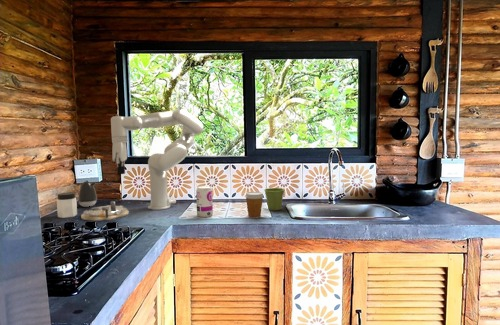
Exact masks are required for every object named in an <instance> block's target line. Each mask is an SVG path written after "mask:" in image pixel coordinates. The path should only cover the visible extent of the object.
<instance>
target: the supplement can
mask: <svg viewBox="0 0 500 325" xmlns="http://www.w3.org/2000/svg"><path fill="white" fill-rule="evenodd" d="M195 191H196V197H195V198H196V199H195V200H196V215H197V216H198V217H200V218H209V217H212V215H213V211H214V210H213V207H214V206H213V189H212V186H210V185H209V186H208V185H202V186H197V187H196V190H195Z"/></svg>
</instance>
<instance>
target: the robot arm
mask: <svg viewBox="0 0 500 325" xmlns="http://www.w3.org/2000/svg"><path fill="white" fill-rule="evenodd" d="M177 125H182V127H181V128H182V130H181V135H180V137H178V138H177V139H176V140H174V141H172V142H171V143H170V144H168V145H167V146H166V147H164V152H163V153H153V154H152V155H151V156H150V157H149V158H148V160H147V164H148V165H147V166H148V171H149V188H150V189H149V191H150V205H148V206H147V208H148V209H149V210H154V211H155V210H157V211H158V210H165V209H166V210H167V209H169V208H171V206H172V205H171V204H176V203H177V200H176V199H169V197H168V174H167V171H169V170H172V169H173V168H174V167H175V166H177V165H178V164H180V163H181V162H182V161H183V160H185V158H186V157H187V154H188V150H189V149H190V148H191V147H192V146H193V143H194V139H195V136H199V135H201V134H202V133H203V132H204V125H203V123H202V122H201V121H200V120H199V119H197V118H196V117H195V116H194V115H192V114H191V113H190V112H188V111H187V110H185V109H175V110H166V111H158V112H151V113H149V114H148V113H147V114H142V115H136V116H135V115H132V116H121V115H118V116H117V115H115V116H112V117H111V118H110V126H111V127H110V130H111V142H112V148H111V150H112V161H113V162H116V165H117V174H118V175H124V174H126V166H125V165H126V164H125V162H126V161H127V159H128V151H127V143H128V131H137V130H140V129H149V128H151V129H155V128H162V127H163V128H164V127H170V126H171V127H172V126H177Z"/></svg>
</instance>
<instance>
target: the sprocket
mask: <svg viewBox="0 0 500 325" xmlns="http://www.w3.org/2000/svg"><path fill="white" fill-rule="evenodd" d="M106 209H108V216H110V215H118V214H120V213H122V212H124V211H126V209H127V207H124V206H123V205H116V200H115V201H114V200H111V201H110V205H104V206H102V205H101V206H92V207H91V208H89V209H86V210H85V209H84V210H83V213H84V214H86V216H87V217H90V216H95V217H99V216H100V217H104V216H106V212H105V210H106Z"/></svg>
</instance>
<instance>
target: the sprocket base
mask: <svg viewBox="0 0 500 325" xmlns="http://www.w3.org/2000/svg"><path fill="white" fill-rule="evenodd" d="M105 212H106V216H104V217H100V216H99V217H95V216H90V217H87V216H86V214H84V212H83V213H82V214H80V217H81V219H82V220H83V221H87V222H88V221H91V222H98V221H99V222H101V221H110V220H115V219H121V218H124V217H126V216H128V215H129V214H130V213H129V212H130V211H129V209H128V208H126V211H124V212H122V213H120V214H118V215H110V216H108V209H106V210H105Z"/></svg>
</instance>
